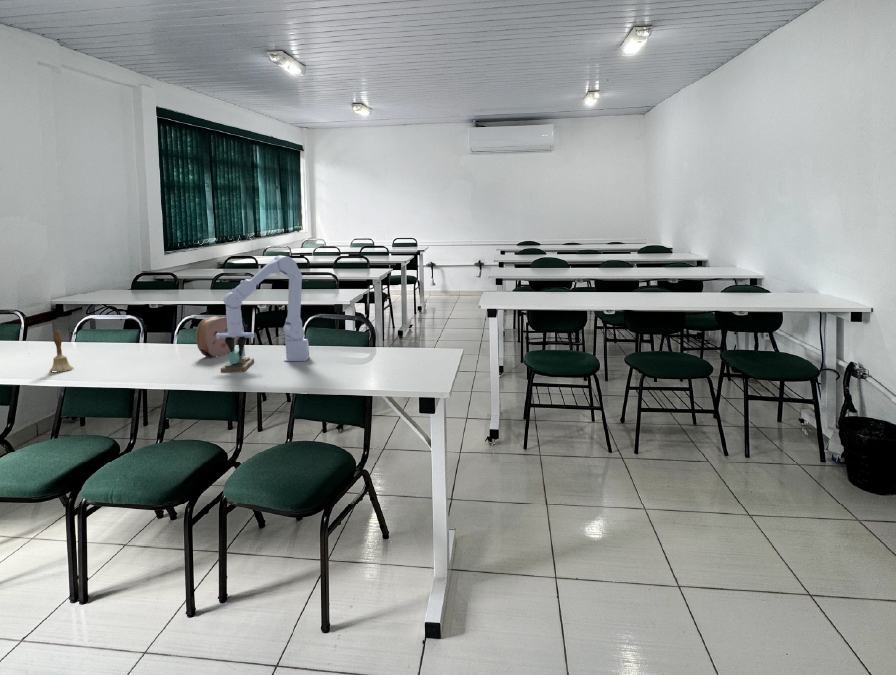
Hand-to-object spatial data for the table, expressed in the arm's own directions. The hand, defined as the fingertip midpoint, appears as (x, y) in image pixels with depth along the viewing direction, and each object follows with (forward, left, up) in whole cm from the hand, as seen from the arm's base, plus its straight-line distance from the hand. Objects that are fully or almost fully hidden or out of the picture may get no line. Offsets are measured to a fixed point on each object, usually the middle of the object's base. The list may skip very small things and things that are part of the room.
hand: (237, 355), depth 241 cm
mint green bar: (0, 0, -2) cm, 2 cm away
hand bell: (+70, -2, -5) cm, 70 cm away
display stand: (0, 0, -5) cm, 5 cm away
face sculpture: (+15, -25, -5) cm, 30 cm away
